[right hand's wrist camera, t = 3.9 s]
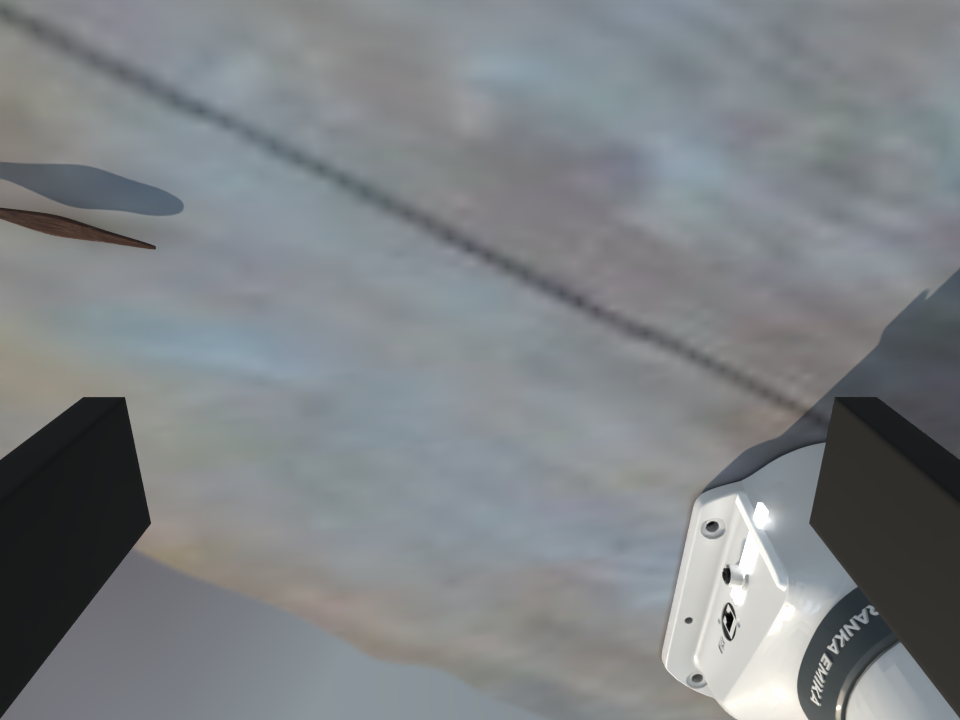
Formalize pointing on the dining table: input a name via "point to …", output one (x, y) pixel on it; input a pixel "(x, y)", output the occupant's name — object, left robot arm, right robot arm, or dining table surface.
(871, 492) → the right robot arm
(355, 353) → the dining table surface
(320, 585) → the dining table surface
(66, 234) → the fork
